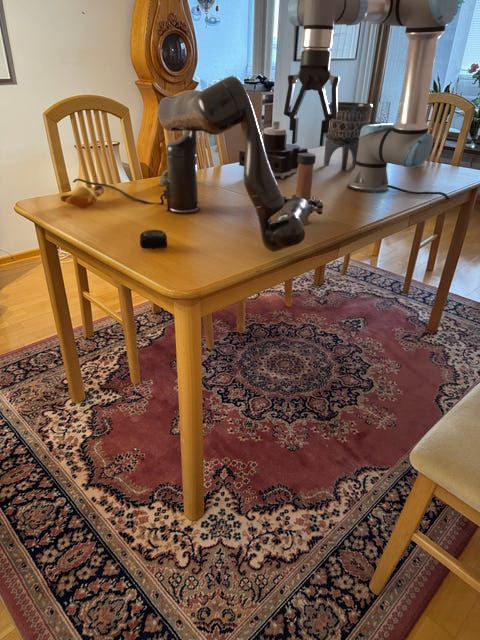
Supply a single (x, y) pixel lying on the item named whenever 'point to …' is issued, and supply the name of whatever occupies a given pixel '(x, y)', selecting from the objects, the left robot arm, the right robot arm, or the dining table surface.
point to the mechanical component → (278, 151)
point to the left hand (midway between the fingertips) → (304, 198)
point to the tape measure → (153, 239)
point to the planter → (346, 130)
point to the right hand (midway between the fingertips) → (307, 144)
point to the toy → (83, 196)
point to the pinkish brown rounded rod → (304, 181)
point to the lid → (306, 158)
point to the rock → (164, 177)
